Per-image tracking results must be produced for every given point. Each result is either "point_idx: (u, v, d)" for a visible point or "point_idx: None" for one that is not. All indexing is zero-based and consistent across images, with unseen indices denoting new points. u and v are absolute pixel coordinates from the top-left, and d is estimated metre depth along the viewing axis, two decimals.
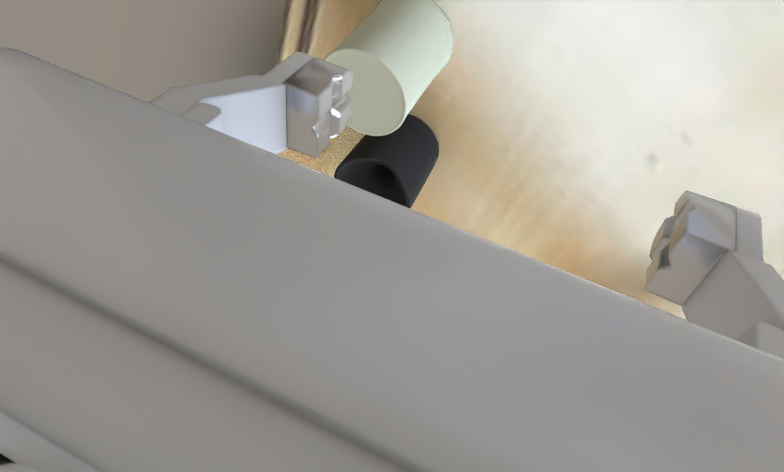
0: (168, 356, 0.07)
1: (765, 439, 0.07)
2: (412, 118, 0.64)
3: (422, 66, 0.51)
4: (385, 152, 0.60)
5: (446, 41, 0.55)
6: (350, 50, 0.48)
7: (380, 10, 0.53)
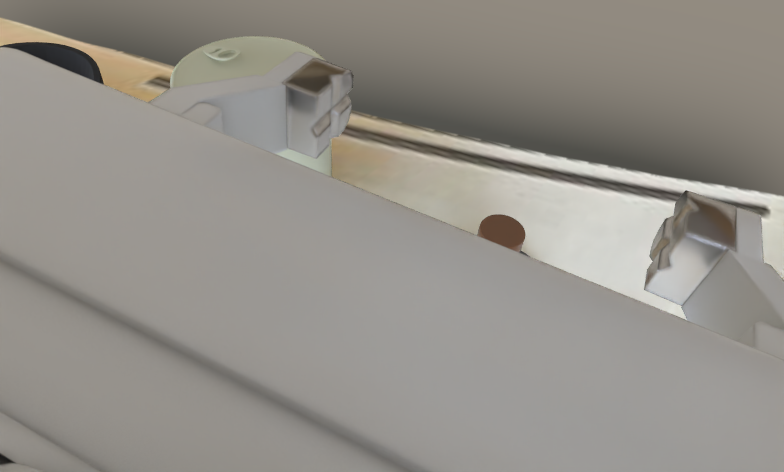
0: (167, 356, 0.07)
1: (765, 439, 0.07)
2: None
3: None
4: None
5: None
6: None
7: None
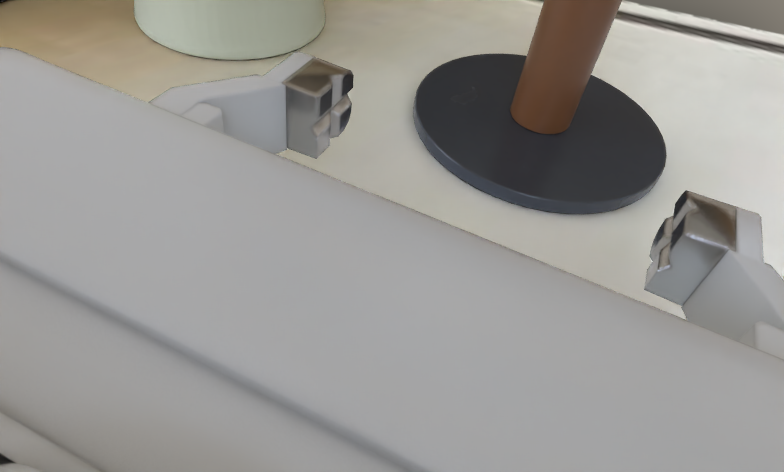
0: (167, 356, 0.07)
1: (765, 439, 0.07)
2: None
3: None
4: None
5: (237, 29, 0.24)
6: None
7: None
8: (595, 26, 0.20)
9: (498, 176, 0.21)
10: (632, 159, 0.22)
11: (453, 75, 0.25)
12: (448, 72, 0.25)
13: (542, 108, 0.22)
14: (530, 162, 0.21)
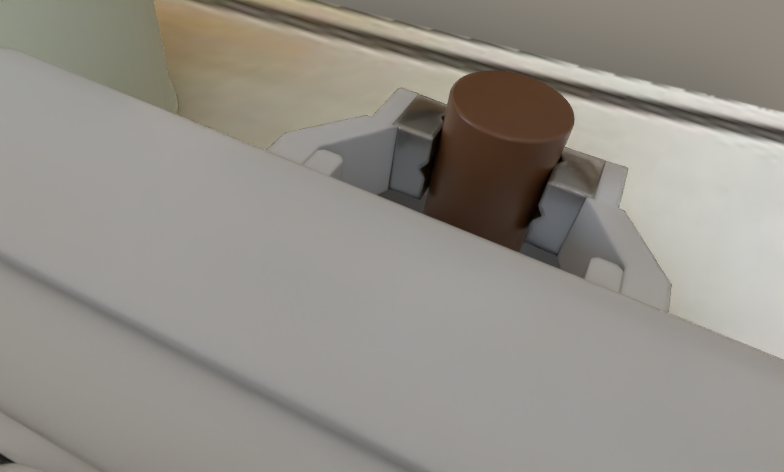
0: (167, 357, 0.07)
1: (765, 439, 0.07)
2: None
3: None
4: None
5: None
6: None
7: None
8: (513, 206, 0.12)
9: None
10: None
11: None
12: None
13: None
14: None
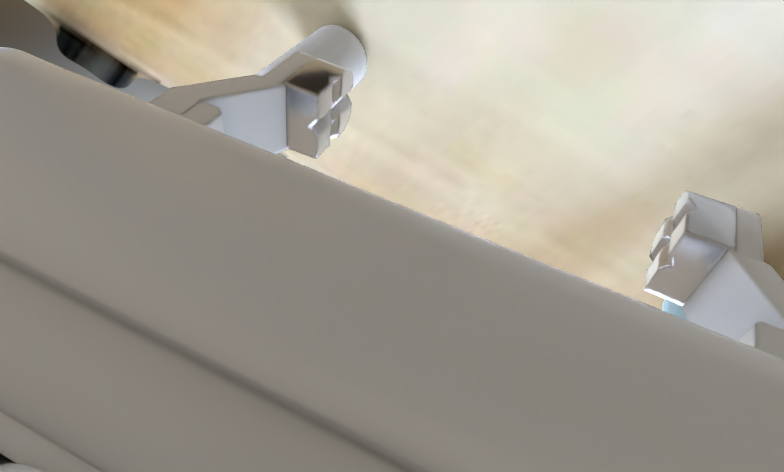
0: (168, 356, 0.07)
1: (765, 439, 0.07)
2: None
3: None
4: None
5: None
6: None
7: None
8: None
9: None
10: None
11: None
12: None
13: None
14: None
